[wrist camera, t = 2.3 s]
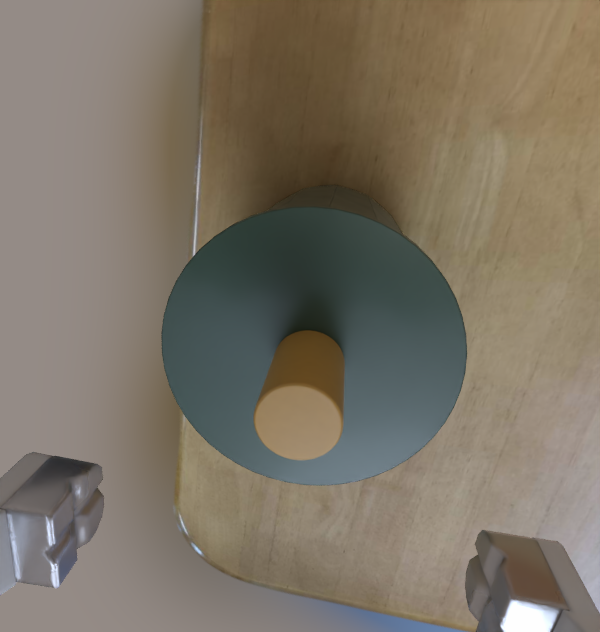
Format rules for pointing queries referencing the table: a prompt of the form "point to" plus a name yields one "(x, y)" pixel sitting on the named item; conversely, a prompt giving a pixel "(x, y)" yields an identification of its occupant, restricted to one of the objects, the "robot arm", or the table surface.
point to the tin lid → (314, 345)
